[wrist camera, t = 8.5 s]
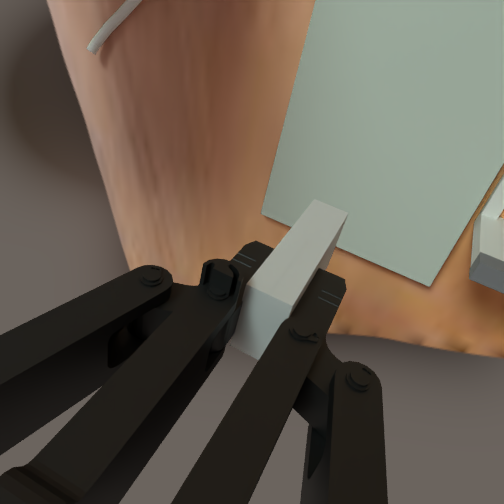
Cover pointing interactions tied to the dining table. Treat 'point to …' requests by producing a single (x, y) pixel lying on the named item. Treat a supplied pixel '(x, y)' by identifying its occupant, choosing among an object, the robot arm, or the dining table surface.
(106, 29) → the tall slanted-top box
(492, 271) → the rack
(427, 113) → the plate
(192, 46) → the dining table surface
